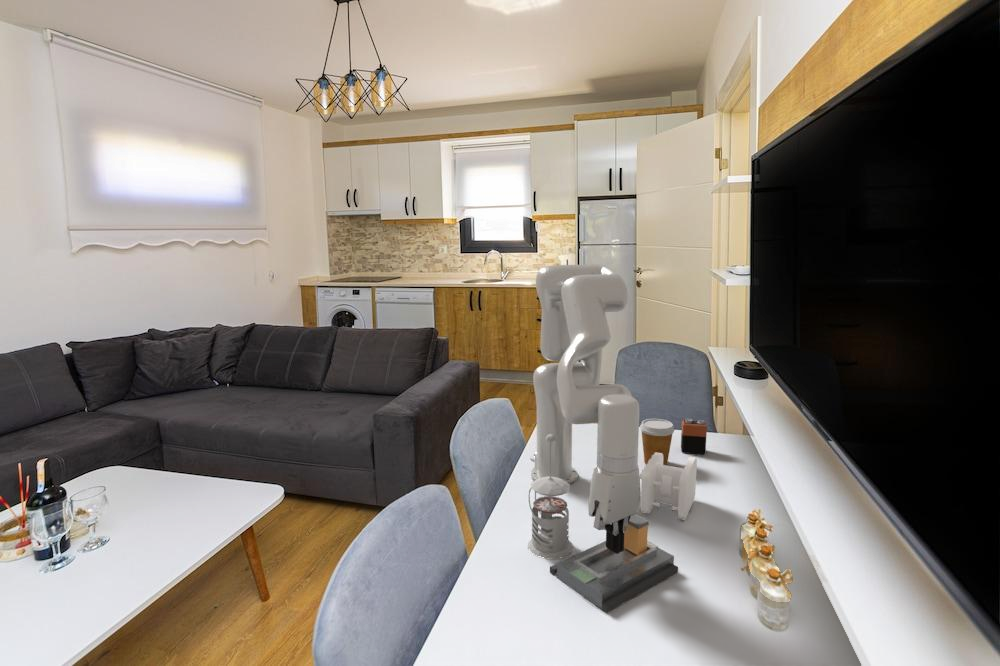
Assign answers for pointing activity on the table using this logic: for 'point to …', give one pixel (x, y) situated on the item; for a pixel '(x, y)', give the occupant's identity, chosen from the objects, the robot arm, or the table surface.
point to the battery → (693, 436)
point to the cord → (553, 569)
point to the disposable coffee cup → (656, 438)
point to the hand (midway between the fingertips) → (614, 549)
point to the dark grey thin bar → (639, 588)
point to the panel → (611, 570)
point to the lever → (636, 535)
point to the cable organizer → (668, 485)
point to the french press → (550, 517)
